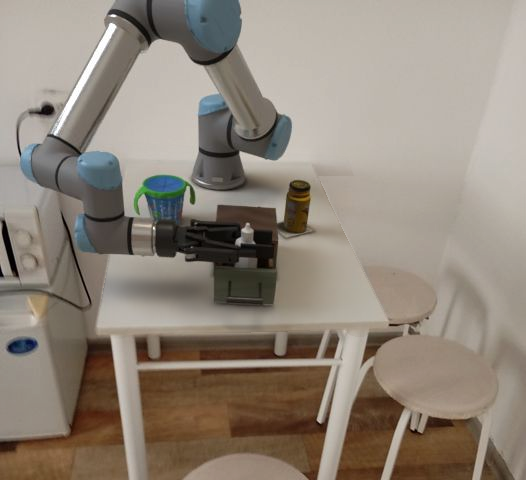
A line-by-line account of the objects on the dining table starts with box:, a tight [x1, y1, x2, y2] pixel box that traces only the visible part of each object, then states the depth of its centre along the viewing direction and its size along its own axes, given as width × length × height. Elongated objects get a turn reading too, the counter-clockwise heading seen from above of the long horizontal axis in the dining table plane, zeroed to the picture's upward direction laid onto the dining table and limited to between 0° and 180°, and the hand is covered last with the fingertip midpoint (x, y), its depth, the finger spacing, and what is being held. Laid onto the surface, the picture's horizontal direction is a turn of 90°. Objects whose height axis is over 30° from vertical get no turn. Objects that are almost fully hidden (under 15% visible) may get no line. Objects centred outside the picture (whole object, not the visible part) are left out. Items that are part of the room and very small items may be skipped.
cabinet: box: [213, 204, 279, 277], centre depth 126 cm, size 16×14×10 cm
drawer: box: [213, 241, 278, 306], centre depth 115 cm, size 21×12×8 cm, turn 1°
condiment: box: [277, 179, 314, 239], centre depth 139 cm, size 7×8×12 cm
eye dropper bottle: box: [234, 223, 257, 268], centre depth 113 cm, size 4×6×12 cm
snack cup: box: [133, 174, 196, 226], centre depth 137 cm, size 16×10×10 cm
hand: (272, 244), depth 112 cm, fingers closed on eye dropper bottle, 5 cm apart
